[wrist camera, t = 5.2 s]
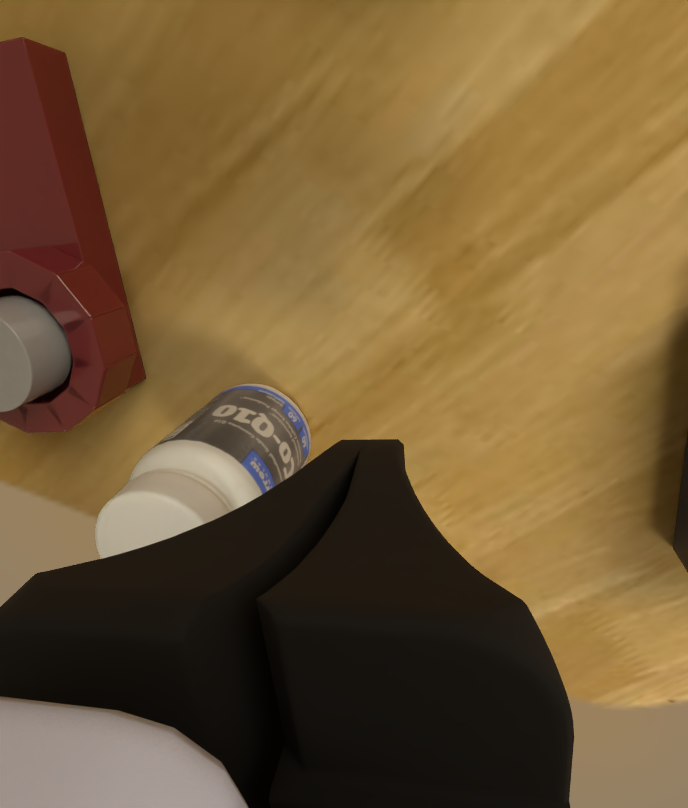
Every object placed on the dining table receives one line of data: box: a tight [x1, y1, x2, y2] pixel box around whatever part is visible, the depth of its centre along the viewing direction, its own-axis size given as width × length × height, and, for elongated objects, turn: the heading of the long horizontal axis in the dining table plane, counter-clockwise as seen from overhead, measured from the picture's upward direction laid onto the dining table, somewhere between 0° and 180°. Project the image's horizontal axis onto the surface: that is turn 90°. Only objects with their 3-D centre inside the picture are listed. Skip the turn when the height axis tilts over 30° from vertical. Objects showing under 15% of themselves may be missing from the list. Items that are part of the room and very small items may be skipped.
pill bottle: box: [95, 384, 311, 559], centre depth 19 cm, size 5×5×8 cm
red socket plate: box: [0, 37, 146, 433], centre depth 19 cm, size 13×9×4 cm
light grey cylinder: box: [0, 295, 71, 412], centre depth 18 cm, size 4×4×2 cm
